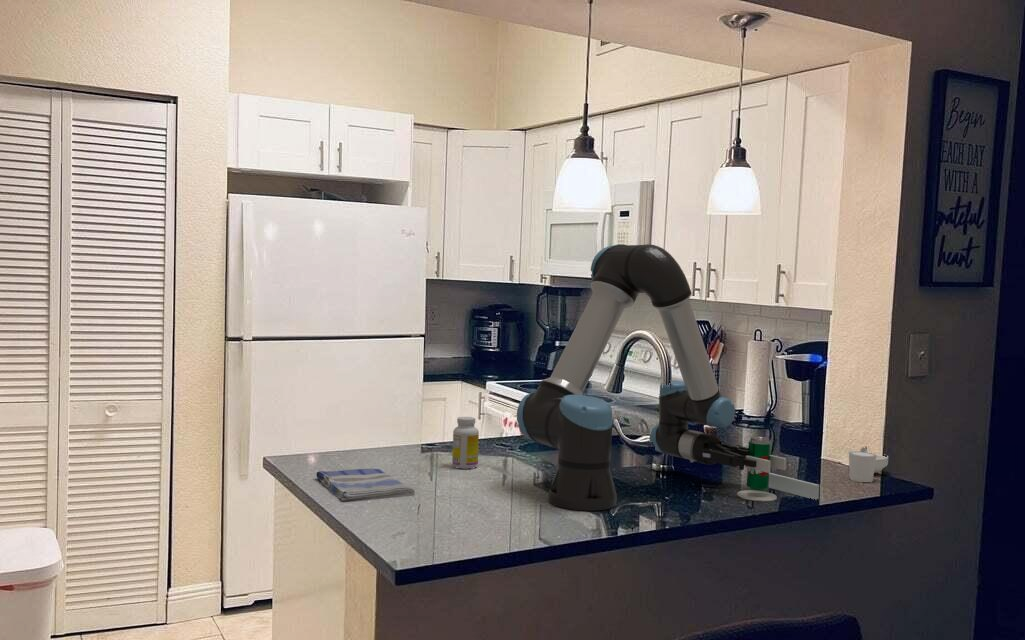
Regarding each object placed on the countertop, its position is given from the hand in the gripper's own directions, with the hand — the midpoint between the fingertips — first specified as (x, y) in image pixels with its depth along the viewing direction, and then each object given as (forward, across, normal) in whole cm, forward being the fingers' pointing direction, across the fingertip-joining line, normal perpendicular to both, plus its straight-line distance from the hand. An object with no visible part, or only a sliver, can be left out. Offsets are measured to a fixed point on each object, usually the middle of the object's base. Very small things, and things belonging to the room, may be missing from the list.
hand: (777, 465), depth 203 cm
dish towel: (-56, +78, -9) cm, 96 cm away
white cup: (-4, -40, -9) cm, 41 cm away
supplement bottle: (-63, +45, -9) cm, 78 cm away
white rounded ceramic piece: (-9, -51, -9) cm, 52 cm away
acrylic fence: (-5, -11, -8) cm, 15 cm away
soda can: (-5, 0, -7) cm, 9 cm away
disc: (-5, 0, -8) cm, 10 cm away
